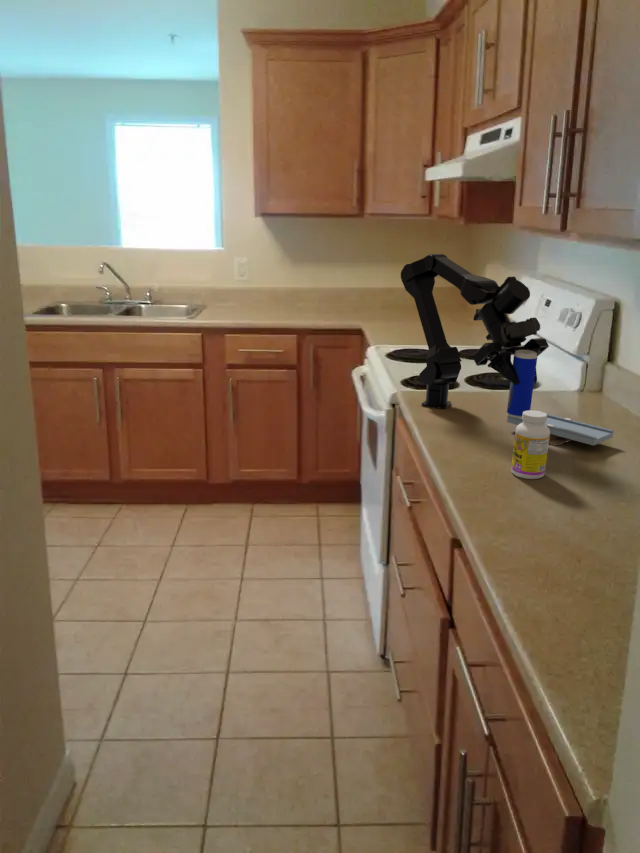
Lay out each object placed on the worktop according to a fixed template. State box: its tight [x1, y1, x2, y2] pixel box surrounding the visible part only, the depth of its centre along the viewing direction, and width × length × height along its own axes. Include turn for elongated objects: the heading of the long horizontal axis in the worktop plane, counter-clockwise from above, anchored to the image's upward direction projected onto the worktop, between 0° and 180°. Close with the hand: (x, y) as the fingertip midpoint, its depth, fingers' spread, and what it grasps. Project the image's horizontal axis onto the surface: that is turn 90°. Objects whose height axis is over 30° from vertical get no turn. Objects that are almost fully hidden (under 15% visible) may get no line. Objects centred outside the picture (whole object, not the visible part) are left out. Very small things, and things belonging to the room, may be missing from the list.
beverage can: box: [506, 350, 538, 418], centre depth 171 cm, size 5×5×15 cm
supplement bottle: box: [510, 409, 550, 480], centre depth 149 cm, size 7×7×13 cm
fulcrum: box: [549, 434, 572, 446], centre depth 175 cm, size 6×11×2 cm, turn 134°
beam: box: [506, 413, 614, 446], centre depth 174 cm, size 22×9×2 cm, turn 44°
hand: (526, 382), depth 170 cm, fingers closed on beverage can, 5 cm apart
